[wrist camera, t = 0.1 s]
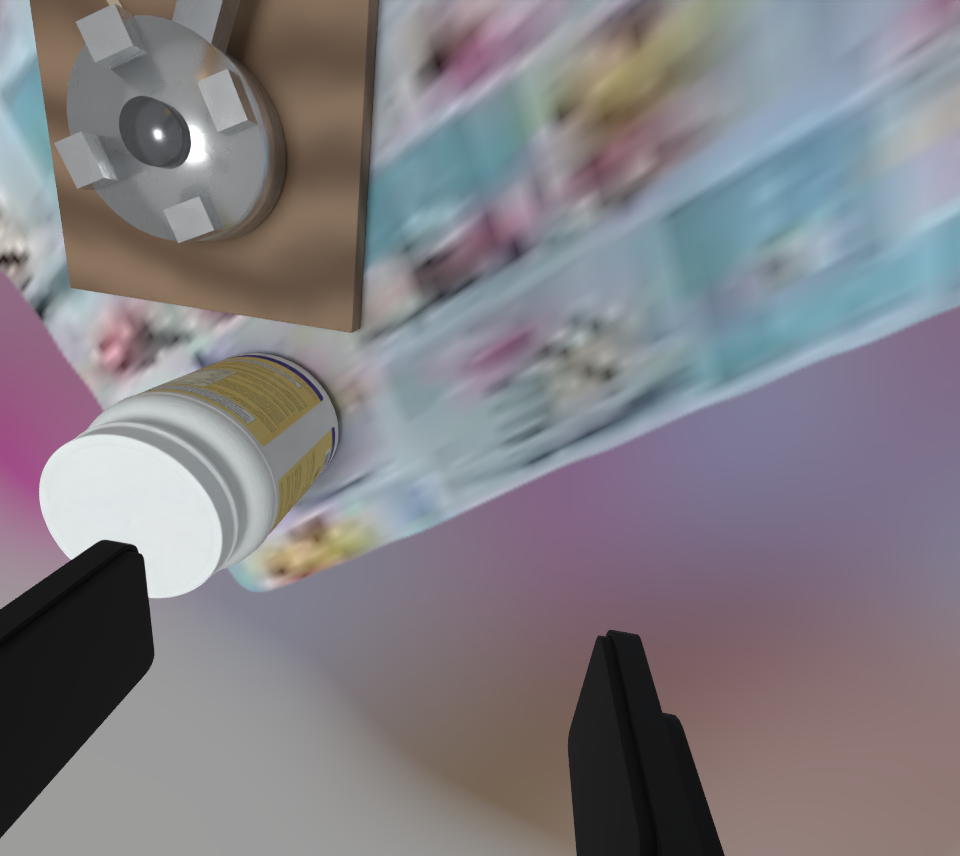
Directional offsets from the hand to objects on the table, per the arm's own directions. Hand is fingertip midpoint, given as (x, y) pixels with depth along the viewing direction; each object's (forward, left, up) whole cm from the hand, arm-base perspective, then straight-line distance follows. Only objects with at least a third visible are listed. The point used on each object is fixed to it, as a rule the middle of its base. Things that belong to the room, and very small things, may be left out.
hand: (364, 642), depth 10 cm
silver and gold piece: (-14, -20, -29) cm, 38 cm away
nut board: (-11, -21, -31) cm, 39 cm away
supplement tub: (+9, -17, -31) cm, 37 cm away
